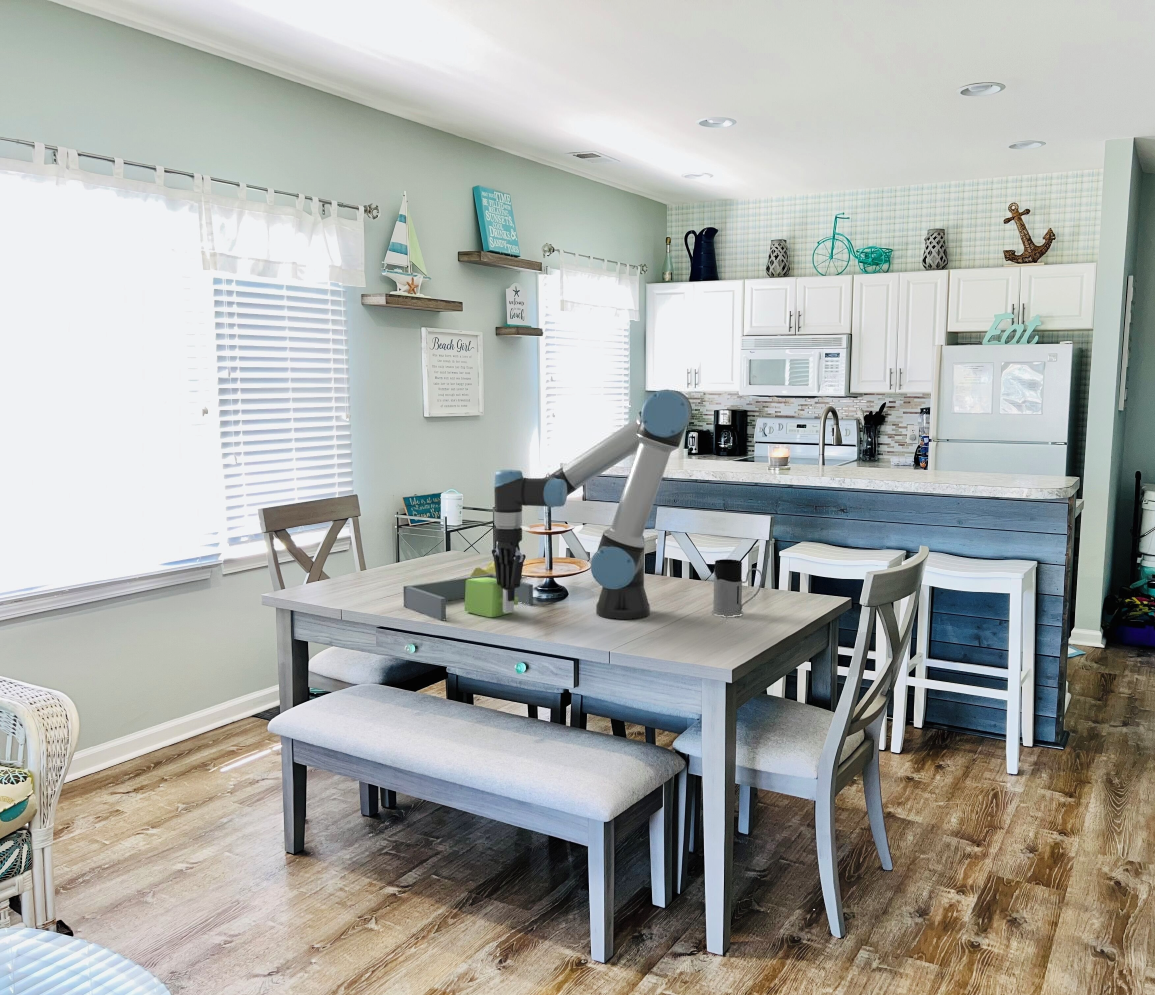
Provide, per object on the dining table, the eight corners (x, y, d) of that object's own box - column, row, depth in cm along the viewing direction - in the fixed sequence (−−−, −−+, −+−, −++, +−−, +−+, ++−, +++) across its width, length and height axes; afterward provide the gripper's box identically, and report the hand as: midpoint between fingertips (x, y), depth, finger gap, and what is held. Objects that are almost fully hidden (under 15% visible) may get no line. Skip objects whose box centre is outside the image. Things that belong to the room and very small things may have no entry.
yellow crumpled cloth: (500, 579, 301) (473, 564, 303) (491, 598, 303) (465, 584, 305) (522, 564, 320) (497, 550, 322) (514, 582, 322) (489, 568, 324)
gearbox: (527, 616, 263) (529, 583, 263) (503, 621, 256) (505, 586, 255) (482, 605, 275) (483, 573, 274) (457, 610, 267) (458, 577, 266)
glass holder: (717, 609, 271) (718, 557, 269) (765, 614, 265) (767, 562, 263) (707, 615, 263) (708, 562, 262) (756, 621, 257) (757, 567, 255)
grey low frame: (532, 604, 276) (532, 584, 275) (441, 620, 256) (440, 598, 256) (492, 592, 292) (492, 573, 291) (403, 606, 272) (403, 586, 272)
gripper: (533, 528, 253) (533, 614, 255) (505, 523, 263) (505, 605, 265) (511, 530, 248) (510, 618, 251) (483, 525, 258) (483, 609, 260)
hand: (508, 611), depth 258 cm, fingers closed
